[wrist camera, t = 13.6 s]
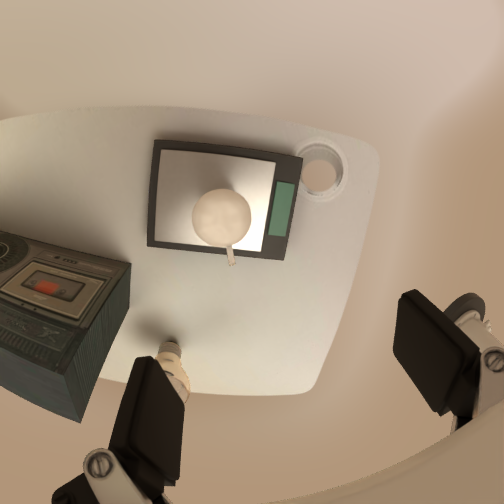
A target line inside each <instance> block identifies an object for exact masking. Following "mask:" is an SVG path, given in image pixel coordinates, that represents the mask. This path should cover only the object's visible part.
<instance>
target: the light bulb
mask: <svg viewBox="0 0 504 504" xmlns="http://www.w3.org/2000/svg"><path fill="white" fill-rule="evenodd" d="M180 358H181V349H180V347H179V346H178V345H177V344H175V343H173V342H165V343H162V344H161V345H160V347H159V351H158V355H157V356H156V357H155V359H157V360H158V362H159V363H160V365H161V367H162V369H163V370H164V372H165V374H166V375H167V377H168V379H169V380H170V382H171V383H172V385H173V387H174V388H175V390H176V391H177V393H178V395H179V396H180V398H181V399H182V401H183V403H186V401H187V399H188V397H189V395H190V381H189V378H188V376H187V374H186V372H185V371H184V370H183V368H182V364H181V360H180Z"/></svg>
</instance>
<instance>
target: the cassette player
mask: <svg viewBox="0 0 504 504" xmlns="http://www.w3.org/2000/svg"><path fill="white" fill-rule="evenodd" d="M130 278H131V264H130V263H125V262H121V261H117V260H112V259H108V258H104V257H99V256H95V255H91V254H87V253H83V252H78V251H74V250H70V249H66V248H62V247H58V246H55V245H51V244H47V243H43V242H39V241H36V240H32V239H28V238H24V237H21V236H17V235H14V234H10V233H7V232H3V231H0V386H2V387H4V388H5V389H7V390H9V391H11V392H13V393H14V394H16V395H18V396H20V397H22V398H24V399H26V400H27V401H30V402H31V403H33V404H35V405H38V406H40V407H42V408H44V409H46V410H49V411H51V412H53V413H55V414H58V415H60V416H63V417H65V418H68V419H70V420H73V421H76V422H78V423H81V421H82V418H83V415H84V412H85V410H86V407H87V404H88V401H89V399H90V396H91V394H92V391H93V389H94V386H95V383H96V381H97V378H98V376H99V374H100V371H101V369H102V366H103V364H104V362H105V359H106V357H107V355H108V352H109V350H110V348H111V346H112V343H113V341H114V339H115V337H116V335H117V333H118V330H119V328H120V326H121V324H122V322H123V320H124V318H125V316H126V314H127V312H128V310H129V299H130Z"/></svg>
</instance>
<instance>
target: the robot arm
mask: <svg viewBox="0 0 504 504" xmlns="http://www.w3.org/2000/svg"><path fill="white" fill-rule="evenodd" d="M490 324H491V322H490V320H487V321H486V322H485V323H483V322H482V321H481V320H480V314H479V313H478V312H477V311H476V310H470V311H467V312H465V313H464V314H463V315H461V316H460V317H459V318H458V319H457V320H456V321H455V322H452V321H451V320H450V319H449V318H448V317H447V316H446V315H445V314H444V313H443V312H442V311H441V310H439V309H438V308H437V307H436V306H435V305H434V304H433V303H432V302H430V301H429V300H428V299H427V298H426V297H425V296H424V295H423V294H421V293H420V292H419V291H418V290H416V289H414V290H411V291H408V292H405V293H403V294H402V296H401V298H400V299H399V301H398V310H397V320H396V328H395V336H394V343H393V353H394V355H395V357H396V358H397V360H398V361H399V363H400V364H401V365H402V367H403V368H404V369H405V371H406V372H407V374H408V375H409V377H410V378H411V380H412V381H413V383H414V384H415V385H416V387H417V388H418V390H419V391H420V393H421V394H422V396H423V397H424V399H425V400H426V402H427V403H428V405H429V406H430V408H431V409H432V411H434V412H437V413H438V414H439V416H442V415H444V414H446V413H447V412H449V411H450V410H451V411H452V413H453V414H454V416H453V422H452V428H451V433H450V435H449V436H447V437H446V438H444V439H442V440H441V441H439V442H437V443H435V444H434V445H432V446H430V447H429V448H427V449H425V450H423V451H421V452H419V453H418V454H416V455H414V456H412V457H410V458H408V459H406V460H404V461H402V462H400V463H397V464H396V465H393V466H391V467H389V468H387V469H384V470H382V471H379V472H377V473H375V474H372V475H370V476H367V477H365V478H362V479H359V480H357V481H354V482H351V483H348V484H345V485H342V486H338V487H335V488H332V489H328V490H325V491H321V492H318V493H314V494H310V495H306V496H301V497H297V498H293V499H287V500H281V501H276V502H270V503H263V504H504V345H503V344H502V343H501V342H500V341H499V340H497V339H496V338H495V337H494V336H493V335H492V334H491V333H490V332H491V327H490ZM184 411H185V408H184V403H183V401H182V399H181V398H180V396H179V395H178V393H177V391H176V390H175V388H174V387H173V385H172V383H171V382H170V380H169V379H168V377H167V375H166V374H165V372H164V370H163V369H162V367H161V365H160V363H159V362H158V360H157V359H153V357H151V356H145V357H137V358H136V359H135V362H134V365H133V368H132V371H131V374H130V377H129V380H128V383H127V386H126V389H125V392H124V395H123V397H122V400H121V404H120V407H119V410H118V414H117V417H116V421H115V424H114V428H113V432H112V435H111V439H110V443H109V447H108V449H104V448H99V449H95V450H93V451H91V452H90V453H89V454H88V455H87V456H86V458H85V460H84V462H83V469H84V473H82V474H81V475H79V476H77V477H76V478H74V479H73V480H71V481H70V482H68V483H66V484H65V485H63V486H62V487H60V488H58V489H57V490H56V491H55V492H54V494H53V495H52V504H173V503H172V502H171V501H170V500H169V499H168V497H167V496H166V495H165V494H164V486H175V483H176V482H175V481H176V480H178V479H179V477H180V461H181V445H182V433H183V421H184Z"/></svg>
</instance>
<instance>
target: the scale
mask: <svg viewBox="0 0 504 504" xmlns="http://www.w3.org/2000/svg"><path fill="white" fill-rule="evenodd" d="M302 162H303V158H300V157H295V156H290V155H284V154H279V153H273V152H267V151H261V150H254V149H247V148H240V147H232V146H224V145H216V144H206V143H196V142H184V141H170V140H154V148H153V157H152V166H151V177H150V189H149V204H148V226H147V246H148V247H157V248H167V249H176V250H186V251H195V252H205V253H215V254H224V255H227V249H226V247H214V246H211V245H209V244H207V243H206V242H204V241H203V240H202V239H200V238H199V237H198V236H197V234H196V233H195V231H194V228H193V224H192V211H193V208H194V206H195V204H196V203H197V201H198V200H199V199H200V198H201V197H202V196H203V195H204V194H206V193H207V192H208V191H209V190H210V189H212V188H213V187H215V186H217V185H228V186H229V187H231V188H232V189H233V190H234V191H235V192H237V193H238V194H240V195H241V196H243V197H244V198H245V200H246V201H247V203H248V204H249V207H250V210H251V216H252V221H251V226H250V228H249V231H248V232H247V234H246V235H245V237H244V238H243V239H242V240H241V241H239V242H238V243H236V244H233V245H232V248H233V253H234V256H244V257H254V258H264V259H274V260H284V257H285V252H286V247H287V242H288V237H289V232H290V227H291V222H292V217H293V212H294V207H295V201H296V196H297V190H298V185H299V179H300V174H301V168H302Z"/></svg>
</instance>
